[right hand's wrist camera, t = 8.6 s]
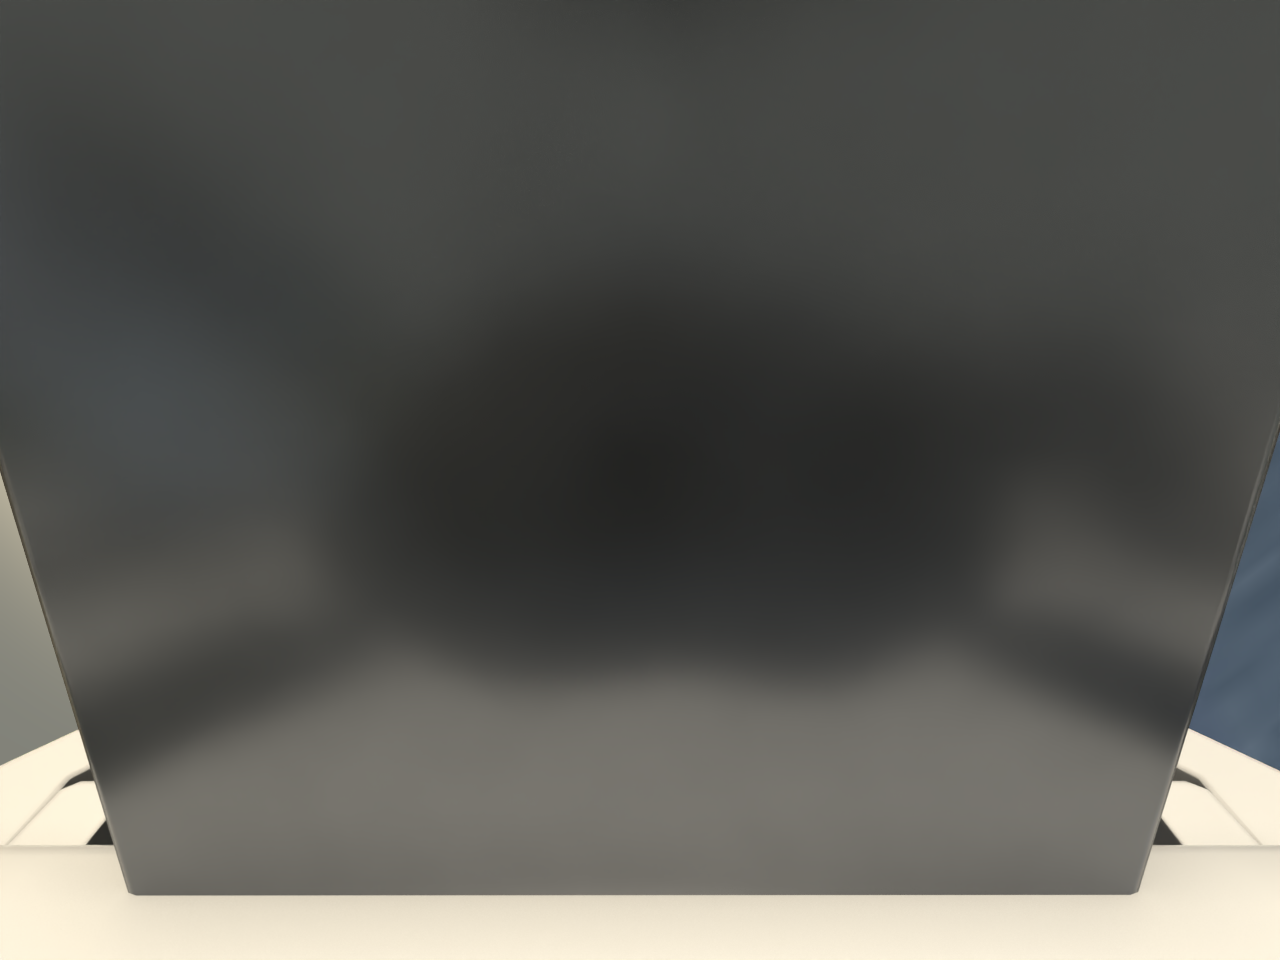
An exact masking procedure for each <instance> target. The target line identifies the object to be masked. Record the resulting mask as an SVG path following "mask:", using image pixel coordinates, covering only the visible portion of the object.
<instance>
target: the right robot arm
mask: <svg viewBox="0 0 1280 960" xmlns="http://www.w3.org/2000/svg"><path fill="white" fill-rule="evenodd" d="M0 960H1280V771H1279V770H1277V769H1274V768H1272V767H1270V766H1268V765H1266V764H1264V763H1262V762H1259V761H1257V760H1255V759H1253V758H1251V757H1249V756H1247V755H1244V754H1242V753H1240V752H1238V751H1236V750H1234V749H1232V748H1230V747H1227V746H1225V745H1223V744H1221V743H1219V742H1217V741H1215V740H1212V739H1210V738H1208V737H1206V736H1204V735H1202V734H1200V733H1197V732H1195V731H1193V730H1191V729H1189V728H1188V732H1187V735H1186V738H1185V741H1184V745H1183V748H1182V751H1181V754H1180V758H1179V761H1178V764H1177V767H1176V771H1175V774H1174V777H1173V780H1172V784H1171V787H1170V790H1169V793H1168V797H1167V800H1166V803H1165V807H1164V810H1163V813H1162V816H1161V820H1160V823H1159V826H1158V829H1157V833H1156V836H1155V839H1154V842H1153V846H1152V849H1151V852H1150V855H1149V859H1148V862H1147V865H1146V868H1145V872H1144V875H1143V878H1142V881H1141V885H1140V888H1139V891H1138V892H1137V893H1134V894H1132V895H306V896H136V895H133V894H131V893H128V891H127V887H126V884H125V881H124V877H123V874H122V871H121V868H120V864H119V861H118V858H117V854H116V851H115V848H114V844H113V841H112V838H111V835H110V831H109V828H108V825H107V821H106V818H105V815H104V812H103V808H102V805H101V802H100V798H99V795H98V792H97V789H96V785H95V782H94V779H93V775H92V772H91V769H90V765H89V762H88V759H87V756H86V752H85V749H84V746H83V742H82V739H81V736H80V733H79V729H78V730H76V731H74V732H72V733H70V734H68V735H65V736H63V737H61V738H59V739H57V740H55V741H52V742H50V743H48V744H46V745H44V746H42V747H39V748H37V749H35V750H33V751H31V752H29V753H26V754H24V755H22V756H20V757H18V758H16V759H13V760H11V761H9V762H7V763H5V764H3V765H1V766H0Z"/></svg>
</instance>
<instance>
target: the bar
mask: <svg viewBox="0 0 1280 960" xmlns="http://www.w3.org/2000/svg"><path fill="white" fill-rule="evenodd" d="M1279 432H1280V0H0V473H1V476H2V479H3V482H4V486H5V489H6V492H7V496H8V499H9V502H10V505H11V509H12V512H13V515H14V519H15V522H16V525H17V528H18V532H19V535H20V538H21V542H22V545H23V548H24V552H25V555H26V558H27V561H28V565H29V568H30V571H31V575H32V578H33V581H34V584H35V588H36V591H37V594H38V598H39V601H40V604H41V607H42V611H43V614H44V617H45V621H46V624H47V627H48V631H49V634H50V637H51V640H52V644H53V647H54V650H55V654H56V657H57V660H58V663H59V667H60V670H61V673H62V677H63V680H64V683H65V686H66V690H67V693H68V696H69V700H70V703H71V706H72V710H73V713H74V716H75V719H76V723H77V726H78V729H79V733H80V736H81V739H82V742H83V746H84V749H85V752H86V756H87V759H88V762H89V765H90V769H91V772H92V775H93V779H94V782H95V785H96V789H97V792H98V795H99V798H100V802H101V805H102V808H103V812H104V815H105V818H106V821H107V825H108V828H109V831H110V835H111V838H112V841H113V844H114V848H115V851H116V854H117V858H118V861H119V864H120V868H121V871H122V874H123V877H124V881H125V884H126V887H127V891H128V893H131V894H133V895H136V896H306V895H1132V894H1134V893H1137V892H1138V891H1139V888H1140V885H1141V881H1142V878H1143V875H1144V872H1145V868H1146V865H1147V862H1148V859H1149V855H1150V852H1151V849H1152V846H1153V842H1154V839H1155V836H1156V833H1157V829H1158V826H1159V823H1160V820H1161V816H1162V813H1163V810H1164V807H1165V803H1166V800H1167V797H1168V793H1169V790H1170V787H1171V784H1172V780H1173V777H1174V774H1175V771H1176V767H1177V764H1178V761H1179V758H1180V754H1181V751H1182V748H1183V745H1184V741H1185V738H1186V735H1187V732H1188V728H1189V725H1190V722H1191V719H1192V715H1193V712H1194V709H1195V706H1196V702H1197V699H1198V696H1199V693H1200V689H1201V686H1202V683H1203V680H1204V676H1205V673H1206V670H1207V667H1208V663H1209V660H1210V657H1211V654H1212V650H1213V647H1214V644H1215V640H1216V637H1217V634H1218V631H1219V627H1220V624H1221V621H1222V618H1223V614H1224V611H1225V608H1226V605H1227V601H1228V598H1229V595H1230V592H1231V588H1232V585H1233V582H1234V579H1235V575H1236V572H1237V569H1238V566H1239V562H1240V559H1241V556H1242V553H1243V549H1244V546H1245V543H1246V540H1247V536H1248V533H1249V530H1250V527H1251V523H1252V520H1253V517H1254V514H1255V510H1256V507H1257V504H1258V500H1259V497H1260V494H1261V491H1262V487H1263V484H1264V481H1265V478H1266V474H1267V471H1268V468H1269V465H1270V461H1271V458H1272V455H1273V452H1274V448H1275V445H1276V442H1277V439H1278V435H1279Z"/></svg>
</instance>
